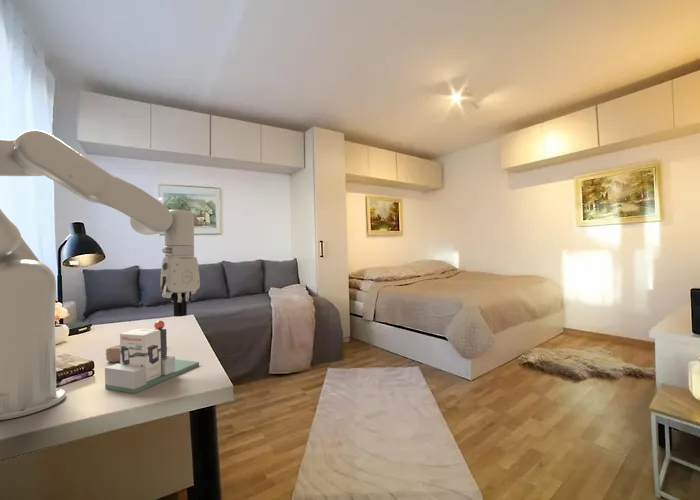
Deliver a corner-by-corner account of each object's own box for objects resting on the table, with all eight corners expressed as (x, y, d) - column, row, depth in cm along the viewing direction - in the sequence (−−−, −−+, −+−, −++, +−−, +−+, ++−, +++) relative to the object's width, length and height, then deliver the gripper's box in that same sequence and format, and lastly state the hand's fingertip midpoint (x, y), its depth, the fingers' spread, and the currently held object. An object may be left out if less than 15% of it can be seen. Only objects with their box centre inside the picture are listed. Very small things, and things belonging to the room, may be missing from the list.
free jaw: (165, 375, 81) (164, 323, 81) (137, 371, 84) (136, 321, 84) (178, 369, 85) (177, 320, 85) (151, 366, 88) (150, 318, 88)
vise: (134, 393, 73) (133, 371, 73) (105, 388, 77) (104, 367, 77) (199, 365, 91) (198, 348, 91) (173, 362, 95) (172, 345, 95)
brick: (140, 347, 112) (139, 334, 112) (164, 347, 113) (163, 333, 113) (104, 364, 96) (104, 349, 96) (132, 363, 96) (132, 347, 96)
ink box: (119, 380, 79) (118, 332, 79) (137, 372, 84) (136, 328, 84) (145, 383, 77) (144, 334, 77) (162, 375, 81) (161, 329, 82)
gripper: (166, 252, 84) (166, 321, 83) (209, 252, 98) (210, 312, 97) (146, 252, 86) (146, 320, 86) (190, 253, 100) (191, 311, 100)
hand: (180, 315), depth 92 cm, fingers closed
